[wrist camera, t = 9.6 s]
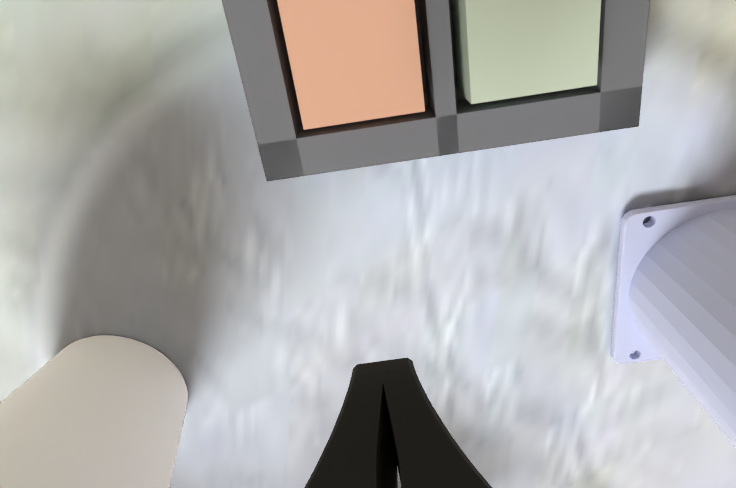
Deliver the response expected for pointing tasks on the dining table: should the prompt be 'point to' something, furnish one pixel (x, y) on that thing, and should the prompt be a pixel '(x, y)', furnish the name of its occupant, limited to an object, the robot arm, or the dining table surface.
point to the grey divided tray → (430, 96)
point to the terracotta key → (353, 59)
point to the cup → (95, 419)
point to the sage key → (524, 46)
